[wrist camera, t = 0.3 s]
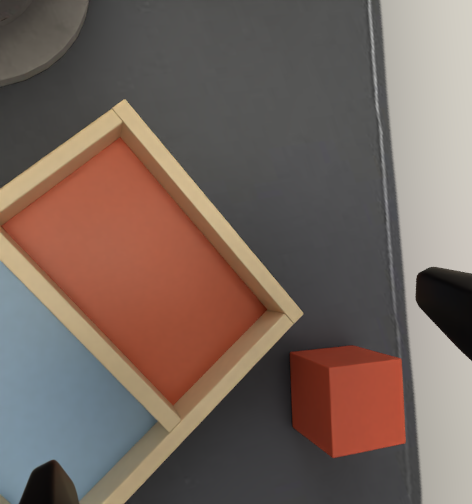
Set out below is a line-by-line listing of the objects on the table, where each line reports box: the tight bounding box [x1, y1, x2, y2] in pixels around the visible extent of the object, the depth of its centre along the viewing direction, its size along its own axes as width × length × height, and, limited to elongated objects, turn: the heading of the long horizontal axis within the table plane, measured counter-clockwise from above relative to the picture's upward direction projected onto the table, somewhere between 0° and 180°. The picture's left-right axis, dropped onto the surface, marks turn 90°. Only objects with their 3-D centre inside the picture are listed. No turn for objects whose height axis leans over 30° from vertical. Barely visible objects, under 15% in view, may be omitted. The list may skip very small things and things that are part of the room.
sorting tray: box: [0, 99, 304, 504], centre depth 20 cm, size 14×17×3 cm
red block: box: [290, 345, 406, 458], centre depth 24 cm, size 4×4×4 cm
